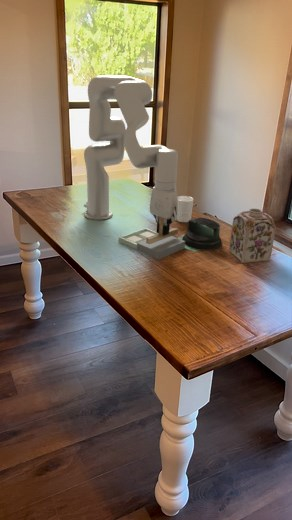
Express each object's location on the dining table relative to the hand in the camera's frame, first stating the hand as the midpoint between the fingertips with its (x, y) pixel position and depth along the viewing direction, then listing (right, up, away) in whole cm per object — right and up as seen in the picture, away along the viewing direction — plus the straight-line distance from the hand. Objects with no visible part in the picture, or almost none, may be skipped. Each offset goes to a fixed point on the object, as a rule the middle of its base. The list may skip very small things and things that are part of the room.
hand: (162, 233), depth 158 cm
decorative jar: (+32, -9, +1) cm, 33 cm away
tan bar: (0, -2, +1) cm, 2 cm away
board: (-1, -6, +3) cm, 7 cm away
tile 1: (-11, -2, +7) cm, 13 cm away
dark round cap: (+16, -3, +11) cm, 20 cm away
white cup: (+10, +8, +33) cm, 36 cm away
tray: (-8, -3, +10) cm, 13 cm away
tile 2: (-6, 0, +11) cm, 13 cm away
